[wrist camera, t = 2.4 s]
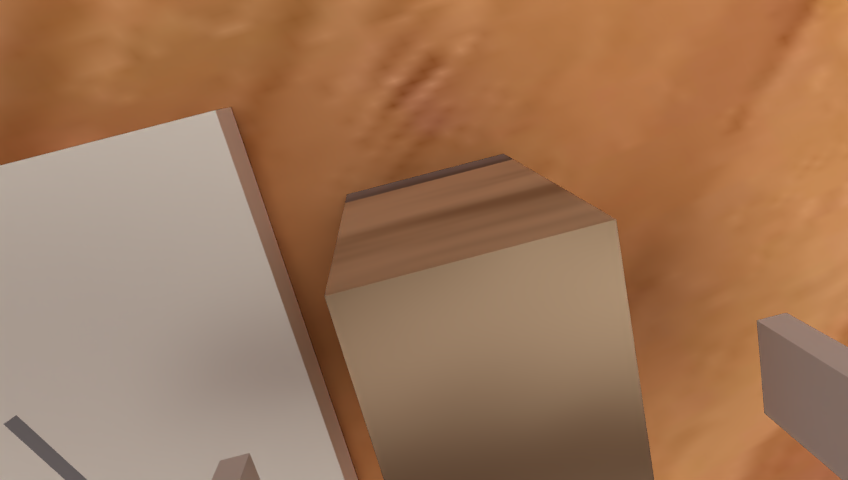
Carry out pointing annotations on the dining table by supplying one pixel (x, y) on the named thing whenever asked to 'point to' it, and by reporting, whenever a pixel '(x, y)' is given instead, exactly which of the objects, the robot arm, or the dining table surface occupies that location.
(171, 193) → the board
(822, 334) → the robot arm
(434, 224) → the block
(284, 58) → the dining table surface
